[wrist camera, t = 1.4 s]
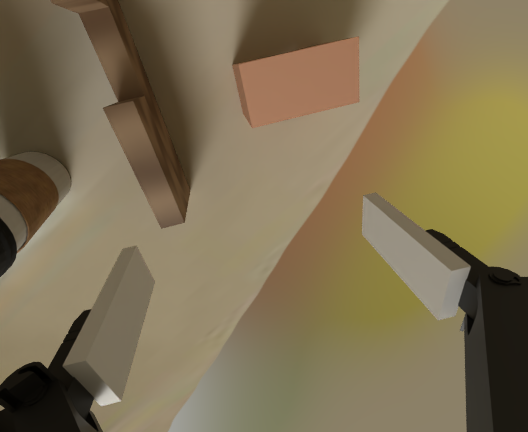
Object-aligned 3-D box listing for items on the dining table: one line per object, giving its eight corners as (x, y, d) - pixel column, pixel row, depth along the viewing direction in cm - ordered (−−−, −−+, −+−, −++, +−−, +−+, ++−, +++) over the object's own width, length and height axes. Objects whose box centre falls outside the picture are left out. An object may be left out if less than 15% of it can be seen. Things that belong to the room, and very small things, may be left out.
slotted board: (75, -33, 22) (13, -76, 15) (103, -39, 22) (54, -84, 16) (171, 195, 34) (161, 228, 27) (190, 190, 34) (184, 222, 27)
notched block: (243, 114, 30) (252, 127, 23) (232, 64, 28) (238, 64, 21) (326, 93, 31) (359, 101, 24) (323, 43, 28) (358, 36, 21)
